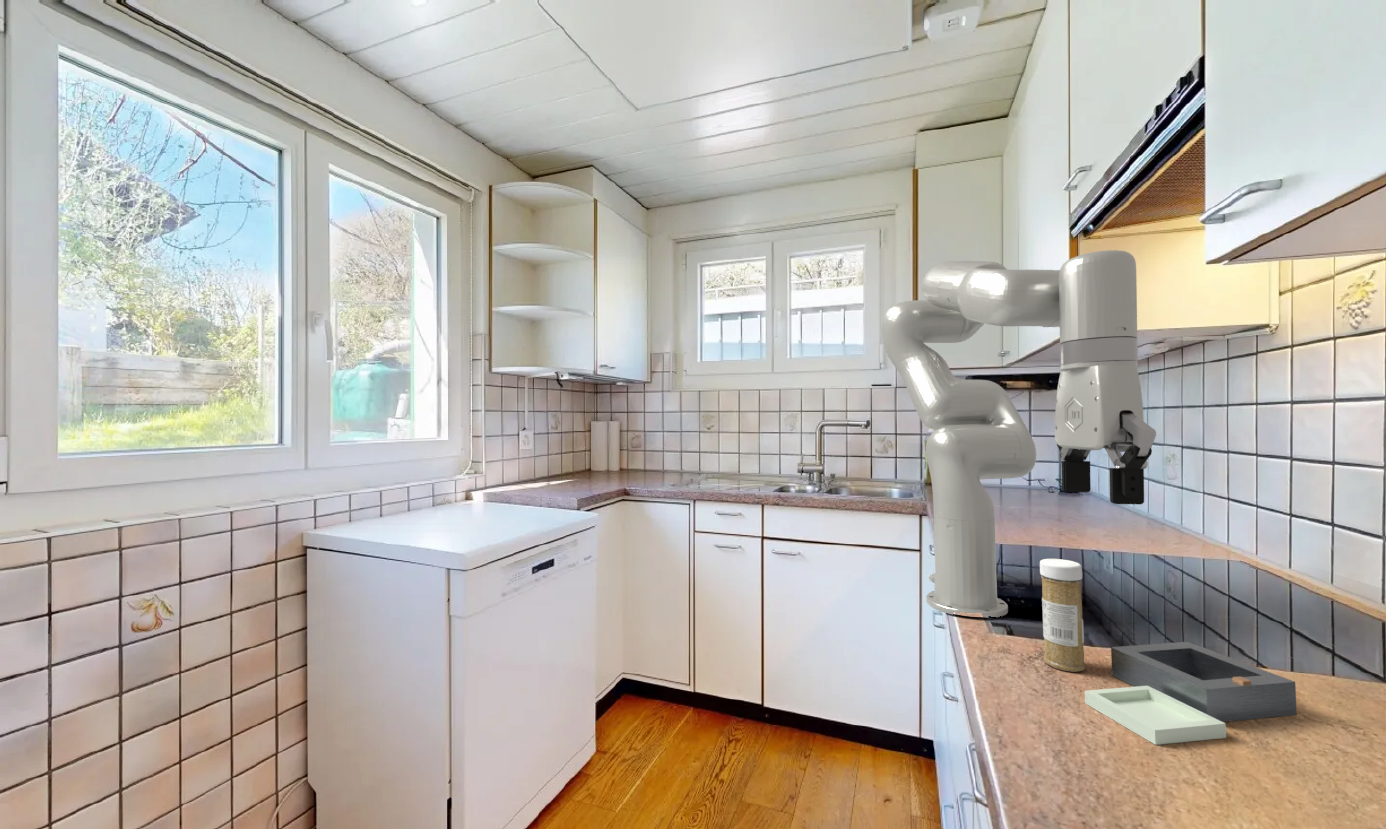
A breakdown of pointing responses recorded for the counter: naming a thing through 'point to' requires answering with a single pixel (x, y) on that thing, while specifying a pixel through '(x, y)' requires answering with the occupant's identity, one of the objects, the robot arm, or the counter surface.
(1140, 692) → the tray
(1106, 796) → the counter surface
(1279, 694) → the block
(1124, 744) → the counter surface
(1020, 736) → the counter surface
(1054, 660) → the spice jar
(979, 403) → the robot arm
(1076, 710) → the counter surface
